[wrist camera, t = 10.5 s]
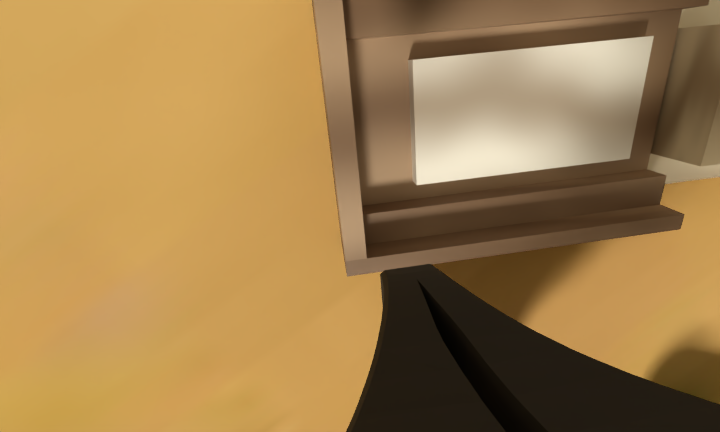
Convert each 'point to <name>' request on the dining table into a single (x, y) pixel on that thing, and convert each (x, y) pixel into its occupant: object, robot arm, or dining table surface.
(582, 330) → the dining table surface
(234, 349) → the dining table surface
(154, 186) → the dining table surface
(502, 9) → the brown shallow rimmed piece
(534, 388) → the robot arm
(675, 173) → the cover plate
